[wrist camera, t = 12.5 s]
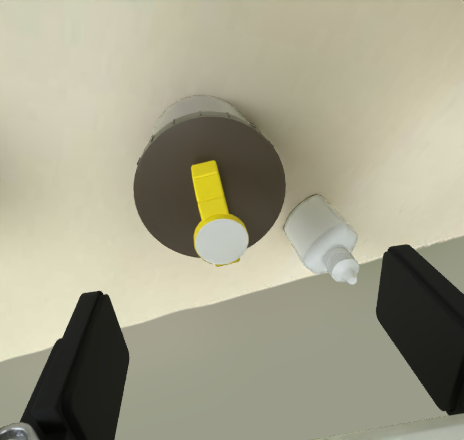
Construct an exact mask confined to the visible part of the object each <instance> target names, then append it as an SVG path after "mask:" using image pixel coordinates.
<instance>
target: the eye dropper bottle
mask: <svg viewBox="0 0 464 440" xmlns="http://www.w3.org/2000/svg"><path fill="white" fill-rule="evenodd" d="M284 231H285V233H286V235H287V237H288V238H289V240H290V242H291V244H292V246H293V247H294V249H295V251H296V253H297V254H298V256H299V258H300V259H301V261H302V263H303V264H304V266H305V267H306V268H307V269H309V270H310V271H312V272H313V273H315V274H322V273H326V272H328V271H329V273H330V274H331V276H332V277H333V279H334V280H336V281H338V282H348V283H349V284H355V283H356V282H357V278H356V275H357V273H358V271H359V264H358V262H357V261H356V260H355V258H354V257H353V256H352V255H351V252H352V250H353V248H354V246H355V244H356V241H357V233H356V232H355V230H354V229H353V228H352V227H351V226H350V225H349V224H348V223H347V221H346V220H345V219H344V218H343V217H342V216H341V215H340V214H339V213H338V212H337V211H336V210H335V209H334V208H333V207H332V206H331V204H330V203H328V202H327V201H326V200H325V199H324V198H323V197H321V196H319V195H314V196H312V197H310V198H308V199H306V200H305V201H303V202H302V203H301V204H299V205H298V206H297V207H296V208H295V209H294V210H293V212H292V213H291V214H290V216H289V218H288V219H287V221H286V223H285V226H284Z"/></svg>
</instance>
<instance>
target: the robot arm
mask: <svg viewBox="0 0 464 440" xmlns="http://www.w3.org/2000/svg"><path fill="white" fill-rule="evenodd" d="M376 315H377V318H378V320H379V322H380V324H381V325H382V326H383V328H384V329H385V331H386V332H387V334H388V335H389V337H390V338H391V340H392V341H393V342H394V344H395V345H396V347H397V348H398V349H399V351H400V353H401V354H402V355H403V357H404V358H405V360H406V361H407V363H408V364H409V366H410V367H411V369H412V370H413V372H414V373H415V374H416V376H417V377H418V379H419V380H420V382H421V383H422V384H423V386H424V388H425V389H426V390H427V392H428V393H429V395H430V396H431V398H432V399H433V401H434V402H435V404H436V405H437V406H438V407H439V409H441V410H442V411H446V412H447V414H448V415H449V416H444V417H438V418H431V419H426V420H420V421H414V422H408V423H403V424H397V425H391V426H385V427H380V428H375V429H368V430H363V431H357V432H351V433H346V434H341V435H335V436H329V437H323V438H318V439H312V440H464V294H463V293H462V292H460V291H459V290H458V289H457V288H456V287H455V286H454V285H453V284H452V283H451V282H449V281H448V280H447V279H446V278H445V277H444V276H443V275H442V274H441V273H440V272H438V271H437V270H436V269H435V268H434V267H433V266H432V265H431V264H430V263H428V262H427V261H426V260H425V259H424V258H423V257H422V256H421V255H419V254H418V252H416V251H415V250H414V249H413V248H412V247H411V246H410V245H407V244H405V245H399V246H392V247H389V249H388V251H387V252H385V253H384V255H383V262H382V270H381V277H380V285H379V292H378V300H377V307H376ZM128 365H129V352H128V348H127V346H126V343H125V340H124V337H123V334H122V332H121V329H120V326H119V323H118V320H117V317H116V314H115V312H114V309H113V306H112V303H111V300H110V298H109V296H108V295H107V294H105V295H103V293H102V292H101V291H96V292H89V293H83V294H82V295H81V296H80V298H79V301H78V303H77V305H76V308H75V310H74V312H73V315H72V317H71V319H70V321H69V324H68V326H67V328H66V331H65V333H64V335H63V338H61V339H59V340H57V341H56V343H55V345H54V347H53V349H52V351H51V353H50V356H49V358H48V360H47V363H46V365H45V367H44V369H43V371H42V374H41V376H40V378H39V380H38V382H37V385H36V387H35V389H34V391H33V394H32V396H31V398H30V400H29V402H28V404H27V407H26V409H25V412H24V413H23V416H22V418H21V420H20V422H19V423H12V424H9V425H7V426H4V427H2V428H0V440H114V439H115V433H116V428H117V422H118V418H119V412H120V407H121V402H122V396H123V391H124V385H125V381H126V374H127V370H128Z"/></svg>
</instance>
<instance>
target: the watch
mask: <svg viewBox="0 0 464 440" xmlns="http://www.w3.org/2000/svg"><path fill="white" fill-rule="evenodd" d="M191 172H192V179H193V184H194V189H195V194H196V199H197V202H198V207H199V212H200V216H201V220H202V221H201V222H200V223H199V224H198V226H197V227H196V229H195V232H194V247H195V250H196V252H197V254H198V255H199V256H200V257H201V258H202V259H203V260H204V261H206V262H208V263H211V264H215V265H216V266H217V267H219V266H223V265H227V264H231V263H235V262H239V260H240V257H241V256H242V255H243V254H244V252H245V251H246V249H247V246H248V243H249V236H248V233H247V230H246V227H245V225H244V223H243V222H242V221H241V220H240V219H239V218H238V217H236V216H234V215H232V214H229V212H228V208H227V204H226V200H225V197H224V192H223V188H222V184H221V180H220V176H219V172H218V168H217V164H216V161H214V160H212V161H208V162H204V163H200V164H196V165H192V167H191Z"/></svg>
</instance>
